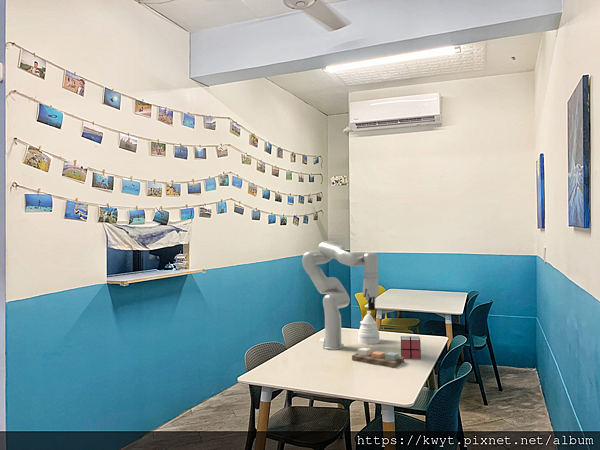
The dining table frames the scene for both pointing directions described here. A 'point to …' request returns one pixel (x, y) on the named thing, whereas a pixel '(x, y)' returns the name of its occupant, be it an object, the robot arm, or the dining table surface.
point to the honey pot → (368, 330)
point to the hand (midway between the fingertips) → (371, 309)
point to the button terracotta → (377, 354)
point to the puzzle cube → (410, 347)
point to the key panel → (378, 360)
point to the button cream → (364, 351)
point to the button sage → (391, 356)
